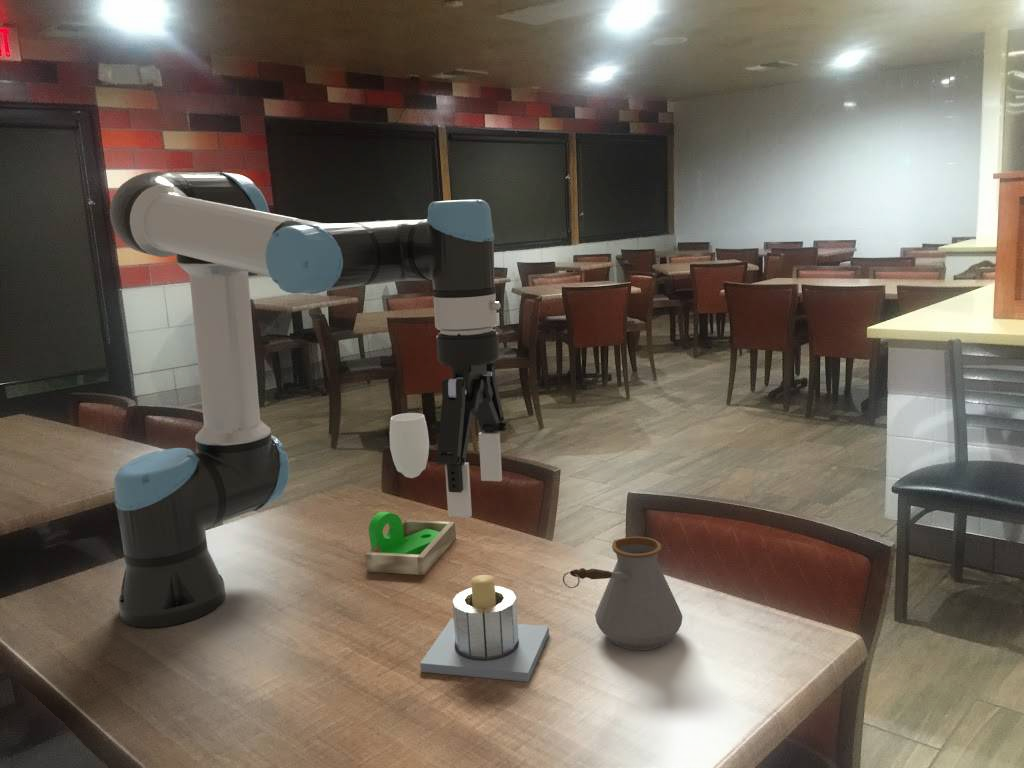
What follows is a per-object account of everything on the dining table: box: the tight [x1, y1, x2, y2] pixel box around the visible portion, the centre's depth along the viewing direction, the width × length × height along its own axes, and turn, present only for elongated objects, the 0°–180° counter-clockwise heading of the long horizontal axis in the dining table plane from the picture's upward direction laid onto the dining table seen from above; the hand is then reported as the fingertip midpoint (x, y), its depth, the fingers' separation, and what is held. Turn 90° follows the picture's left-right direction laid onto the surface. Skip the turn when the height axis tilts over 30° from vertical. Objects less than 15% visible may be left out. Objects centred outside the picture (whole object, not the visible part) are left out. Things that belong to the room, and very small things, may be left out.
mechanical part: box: [368, 511, 440, 555], centre depth 143 cm, size 12×6×8 cm, turn 134°
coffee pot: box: [562, 536, 684, 651], centre depth 107 cm, size 21×12×15 cm, turn 142°
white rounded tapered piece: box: [388, 412, 430, 479], centre depth 157 cm, size 7×7×21 cm
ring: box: [452, 585, 519, 658], centre depth 109 cm, size 8×8×6 cm
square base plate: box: [419, 574, 550, 683], centre depth 109 cm, size 14×12×10 cm
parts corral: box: [365, 519, 457, 576], centre depth 144 cm, size 10×16×3 cm, turn 165°
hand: (476, 497), depth 106 cm, fingers open, 13 cm apart
